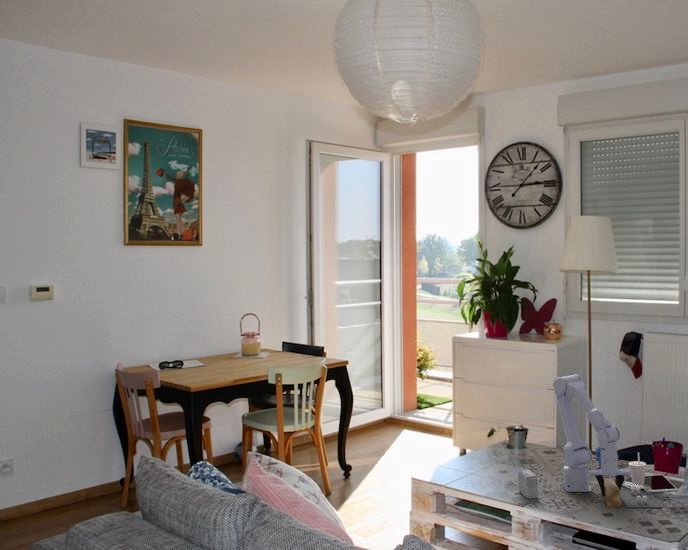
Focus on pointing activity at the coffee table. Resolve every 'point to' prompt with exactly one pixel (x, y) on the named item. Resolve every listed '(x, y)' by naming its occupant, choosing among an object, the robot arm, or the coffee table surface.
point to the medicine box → (528, 484)
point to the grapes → (598, 456)
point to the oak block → (611, 493)
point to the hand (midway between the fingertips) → (610, 495)
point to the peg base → (639, 499)
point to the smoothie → (637, 471)
